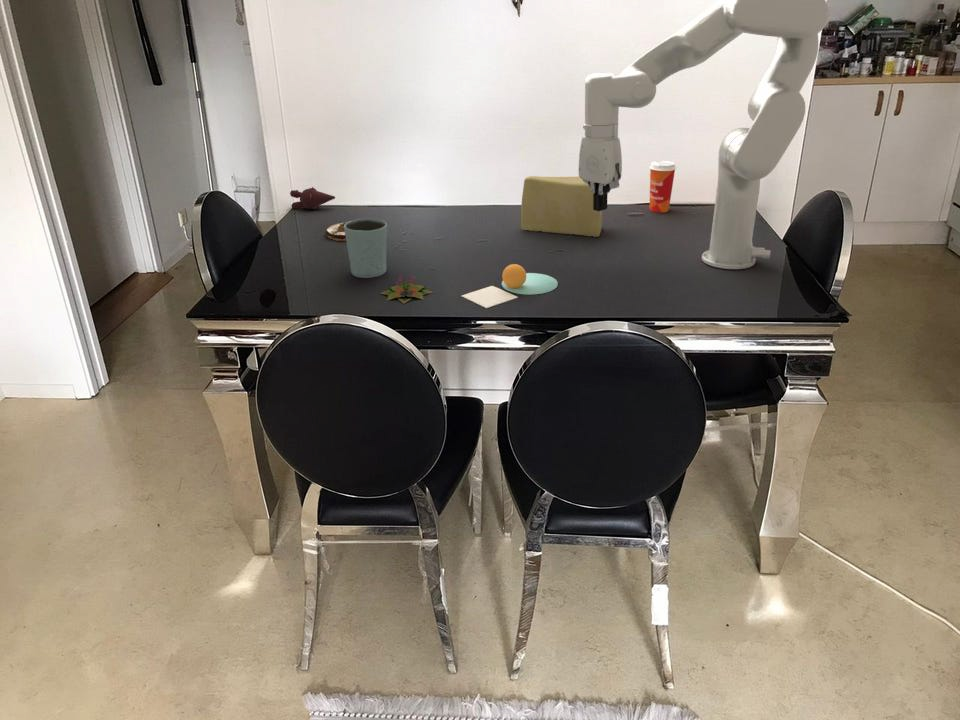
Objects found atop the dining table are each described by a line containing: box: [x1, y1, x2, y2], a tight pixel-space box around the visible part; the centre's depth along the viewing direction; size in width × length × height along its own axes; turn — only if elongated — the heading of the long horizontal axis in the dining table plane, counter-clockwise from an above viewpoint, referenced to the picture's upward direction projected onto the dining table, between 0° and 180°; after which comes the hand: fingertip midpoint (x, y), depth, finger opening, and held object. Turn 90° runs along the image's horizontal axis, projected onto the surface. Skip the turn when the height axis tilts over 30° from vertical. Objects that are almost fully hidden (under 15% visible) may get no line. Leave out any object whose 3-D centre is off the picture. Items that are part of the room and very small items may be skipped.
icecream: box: [289, 186, 336, 211], centre depth 232 cm, size 7×7×15 cm
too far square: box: [461, 285, 519, 309], centre depth 167 cm, size 9×9×1 cm
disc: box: [501, 272, 559, 296], centre depth 173 cm, size 13×13×1 cm
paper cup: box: [649, 160, 677, 214], centre depth 220 cm, size 8×8×14 cm
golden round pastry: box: [325, 220, 350, 242], centre depth 209 cm, size 15×15×4 cm
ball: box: [501, 263, 527, 288], centre depth 170 cm, size 6×6×6 cm
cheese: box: [520, 175, 603, 238], centre depth 205 cm, size 22×10×15 cm, turn 78°
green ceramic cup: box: [344, 218, 388, 279], centre depth 180 cm, size 10×10×12 cm
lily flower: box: [379, 274, 435, 304], centre depth 169 cm, size 12×12×5 cm
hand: (600, 209), depth 178 cm, fingers closed
